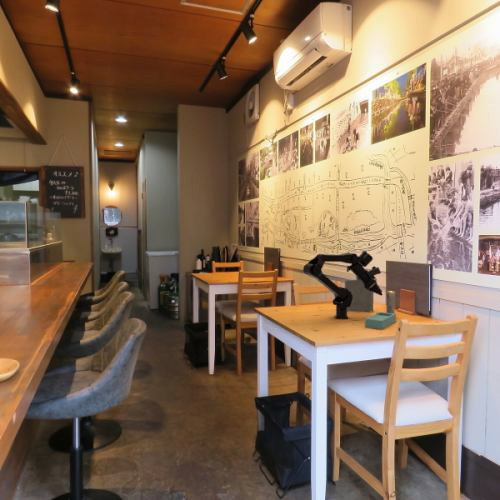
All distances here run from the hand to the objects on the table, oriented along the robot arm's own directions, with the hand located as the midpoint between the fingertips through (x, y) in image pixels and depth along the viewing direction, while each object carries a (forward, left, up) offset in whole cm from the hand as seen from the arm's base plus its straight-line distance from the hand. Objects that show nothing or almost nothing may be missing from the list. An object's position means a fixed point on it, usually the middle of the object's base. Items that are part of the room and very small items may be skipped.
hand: (381, 293), depth 215 cm
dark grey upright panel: (-17, -9, -13) cm, 23 cm away
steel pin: (+1, +5, -13) cm, 13 cm away
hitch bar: (+16, -4, -13) cm, 21 cm away
